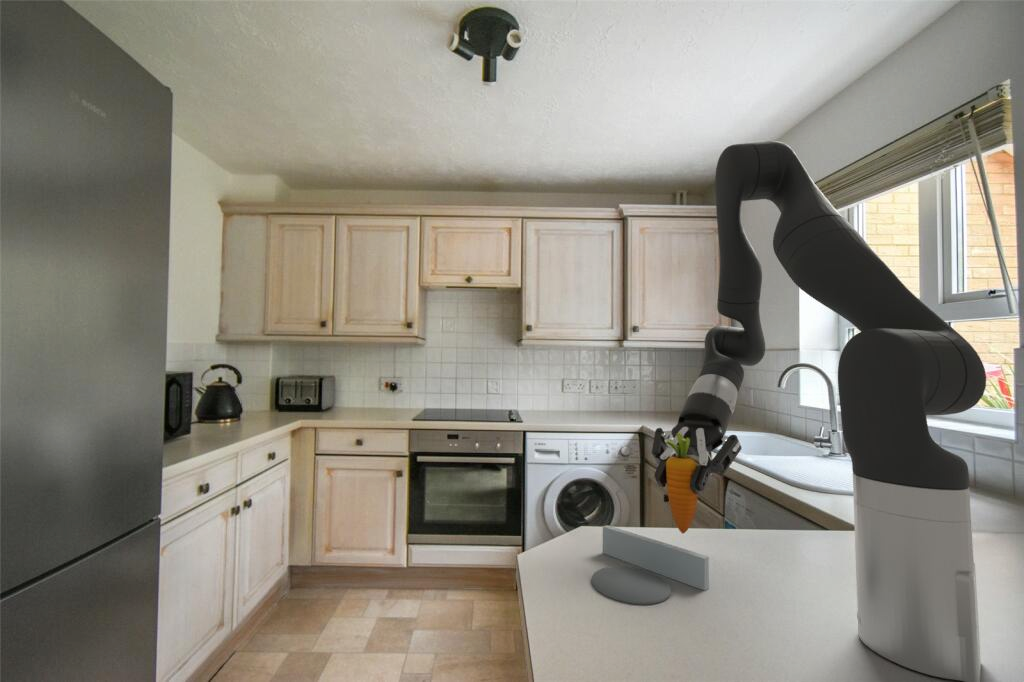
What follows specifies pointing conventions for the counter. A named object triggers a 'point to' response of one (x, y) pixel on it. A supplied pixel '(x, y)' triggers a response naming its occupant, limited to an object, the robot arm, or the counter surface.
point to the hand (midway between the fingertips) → (676, 486)
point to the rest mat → (631, 585)
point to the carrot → (681, 484)
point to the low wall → (657, 557)
